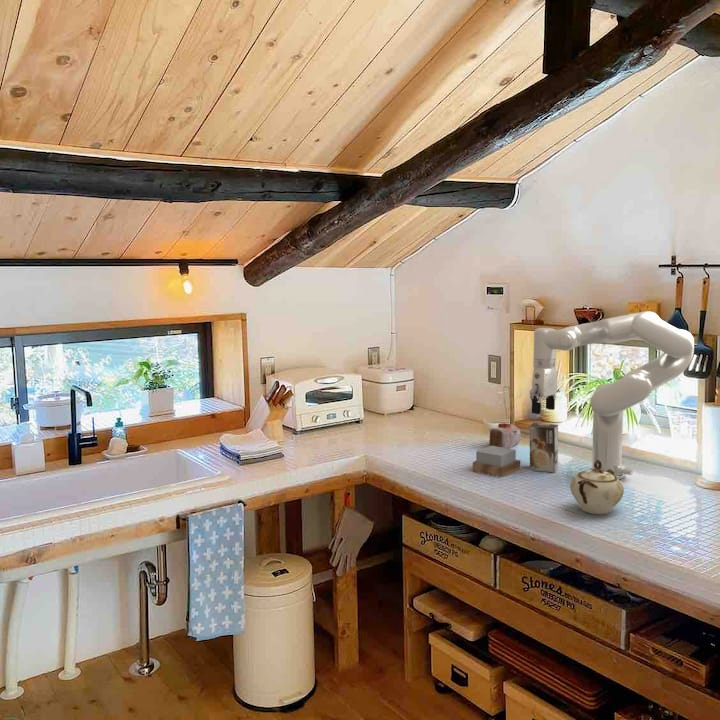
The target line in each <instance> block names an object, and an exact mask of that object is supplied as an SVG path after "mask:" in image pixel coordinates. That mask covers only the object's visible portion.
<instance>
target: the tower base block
mask: <svg viewBox="0 0 720 720" xmlns="http://www.w3.org/2000/svg"><path fill="white" fill-rule="evenodd" d="M519 470H520V471H521V460H519V459H516V461H514V462H512V463H509V464H507V465H505V466H502V467H498V466H493V465H488V464H483V463H477V462H476V460H475V461H473V462H472V472H473V471H475V472H474V473H477V472H480V473H479V474H482V473H484V474H483V475H487V474H489V475H488V476H491V475H494V476H493V477H496V476H498V478H500V477H503V478H505V477H507V476H510V475H512V474H515V473H517V472H519ZM516 471H517V472H516ZM514 472H515V473H514ZM509 474H510V475H509ZM504 476H505V477H504Z"/></svg>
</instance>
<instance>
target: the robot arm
mask: <svg viewBox="0 0 720 720" xmlns="http://www.w3.org/2000/svg"><path fill="white" fill-rule="evenodd" d="M639 339H640V340H642V341H644V342H645V343H647V344H649V345H651V346H652V347H654V348H656V349H658V350H659V351H661V352H662V354H660V355H659V356H657V357H656V358H654V359H652V360H650V361H649V362H647V363H645V364H643V365H641V366H639V367H637V368H635V369H631V370H630V371H628V372H627V373H626V374H625V375H624V376H623V377H620V378H619V379H617V380H615V381H614V382H612V383H603V384H601V385H599V386H598V387H597V388H596V389H595V390H594V392H593V394H592V395H591V398H590V406H591V407H590V408H591V410H592V411H593V414H592V415H593V416H592V448H591V449H592V450H591V451H592V455H591V456H592V460H591V464H592V465H591V466H592V467H590V468H588V469H587V471H588V470H593V469H595V467H594V462H595V461H596V460H599V461H601V464H602V465H601V466H602V468H601V469H600V470H603V471H606V470H608V469H611V470H613V472H614V475H615V476H616V477H617V478H618V479H619V480H623V479H624V478H626V477H627V475H628V476H633V474H634V470H633V468H632V467H626V466H625V462H622V458H623V451H622V450H623V421H624V420H623V419H624V411H625V410H628V409H630V408H631V407H633V406H636V405H638V404H639V403H641V402H643V401H644V400H646V399H647V398H649V396H650V395H651V393H652V391H654V390H655V389H658V388H659V387H661V386H663V385H665V384H667V383H668V382H670V381H672V380H674V379H676V378H678V376H681V374H682V373H684V371H685V370H686V369H687V368H688V367H689V365H690V363H691V362H692V360H693V356H694V353H695V339H694V336H693V335H692V333H691V332H689V331H688V330H686V329H683V328H682V329H681V328H677V327H675V326H674V325H671V324H669V323H668V322H666V321H664V320H662V319H661V318H660V316H659V315H658V314H657V313H655V312H654V311H649V310H648V311H647V310H646V311H641V312H640V311H639V312H635V313H629V314H625V315H619V316H614V317H609V318H604V319H601V320H597V321H592V322H586V323H581V324H576V325H569V326H566V327H564V328H562V329H554V328H552V327H538V328H535V330H534V332H533V359H532V360H533V362H532V367H533V372H532V379H531V380H532V381H531V389H530V390H529V396H530V397H529V398H530V401H531V413H532V414H536V415H541V412H542V410H541V409H542V406H541V405H542V403H541V401H542V397H543V398H545V409H547V410H551V411H554V410H555V408H556V407H555V406H556V405H555V404H556V394H557V392H558V376H557V375H558V374H557V368H556V358H557V357H556V356H557V355H556V354H557V353H556V352H557V351H556V350H558V351H564V352H565V351H567V352H568V351H571V350H573V349H575V348H576V347H582V346H587V345H593V344H606V345H607V344H608V345H609V344H617V343H623V342H628V341H633V340H639ZM598 465H599V464H598V463H597V467H598Z"/></svg>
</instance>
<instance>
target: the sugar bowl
mask: <svg viewBox="0 0 720 720" xmlns="http://www.w3.org/2000/svg"><path fill="white" fill-rule="evenodd" d="M597 463H598V464H599V465H598V467H597ZM601 465H602V464H601V461H599V460H596V461H595V462H594V467H595V469H593V470H588V469H587V470H586V471H582V472H578V473H577V475H575V476H574V477H572V480H571V481H570V484H569V489H570V493H571V495H572V497H573V498H574V500H575V501H576V502H577V504H578V506H580V509H581V510H582V511H584V512H585V513H588V514H592V515H593V514H594V515H607V514H609V513H611V512H612V510H614V508H615V507H616V506H617V505H618V504H619V502H621V500H622V498H623V497H624V493H625V488H624V486H623V485H624V484H623V483H622V482H621V479H618V478H617V477H616V476H615V475H614V472H613V470H611V469H608V470H606V471H603V470H600V469H601V468H602V466H601Z"/></svg>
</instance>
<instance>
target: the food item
mask: <svg viewBox="0 0 720 720" xmlns="http://www.w3.org/2000/svg"><path fill="white" fill-rule="evenodd" d="M521 433H522V431H521V429H520V428H519V427H518V426H516V425H515V424H512V423H506V422H504V423H503V422H502V423H501V422H500V423H498V424H497V427H495V428H491V429H489V441H488V442H489V444H488V445H489V446H496V447H502V448H508V449H513V447H516V446H517V445H519V443H520V442H521V440H522V439H521V437H522V435H521ZM489 446H488V447H489Z"/></svg>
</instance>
